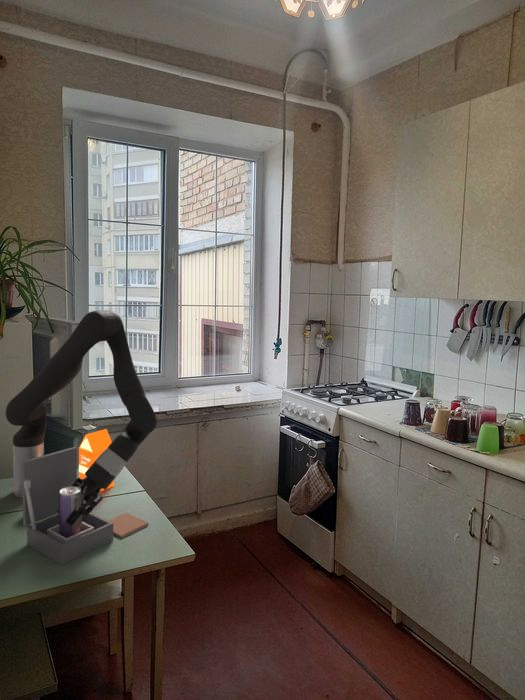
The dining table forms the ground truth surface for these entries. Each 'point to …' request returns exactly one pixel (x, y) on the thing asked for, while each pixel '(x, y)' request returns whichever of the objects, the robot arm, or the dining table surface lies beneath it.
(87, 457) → the orange juice
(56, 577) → the dining table surface
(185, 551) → the dining table surface
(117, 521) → the mat
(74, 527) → the beverage can
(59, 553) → the equipment case
